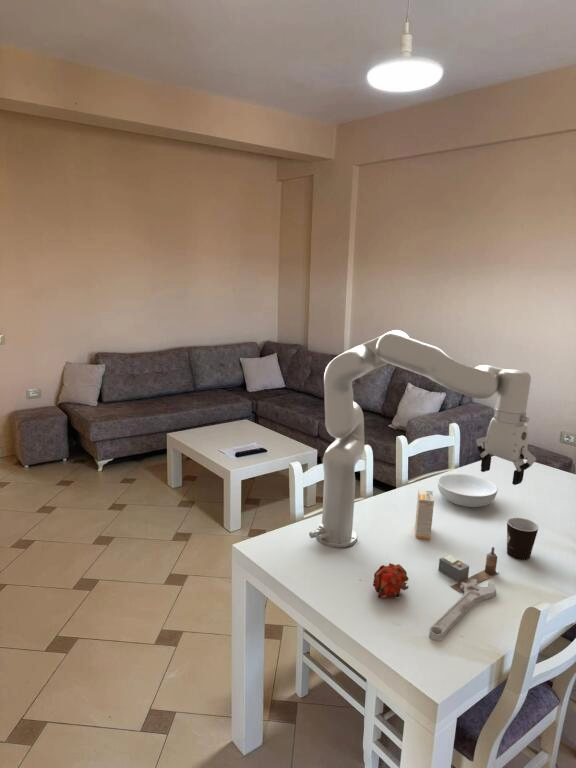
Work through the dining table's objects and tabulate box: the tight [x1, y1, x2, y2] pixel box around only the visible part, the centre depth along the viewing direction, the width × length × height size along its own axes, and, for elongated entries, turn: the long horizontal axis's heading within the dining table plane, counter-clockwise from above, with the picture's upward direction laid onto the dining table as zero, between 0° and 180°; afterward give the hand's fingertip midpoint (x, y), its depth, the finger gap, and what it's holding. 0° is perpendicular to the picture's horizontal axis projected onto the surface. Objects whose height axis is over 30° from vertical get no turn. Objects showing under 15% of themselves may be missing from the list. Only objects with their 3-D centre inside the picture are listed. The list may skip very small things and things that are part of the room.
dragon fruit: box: [372, 562, 409, 599], centre depth 140 cm, size 8×8×12 cm
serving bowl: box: [437, 473, 499, 508], centre depth 197 cm, size 21×21×7 cm
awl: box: [484, 546, 498, 576], centre depth 151 cm, size 3×3×8 cm
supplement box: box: [414, 489, 435, 540], centre depth 172 cm, size 8×5×13 cm, turn 168°
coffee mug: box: [506, 517, 539, 561], centre depth 162 cm, size 12×9×10 cm
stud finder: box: [437, 554, 470, 583], centre depth 150 cm, size 4×7×4 cm, turn 34°
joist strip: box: [450, 569, 498, 593], centre depth 149 cm, size 17×3×1 cm, turn 125°
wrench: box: [428, 579, 497, 642], centre depth 135 cm, size 8×2×30 cm
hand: (500, 477), depth 146 cm, fingers open, 9 cm apart
